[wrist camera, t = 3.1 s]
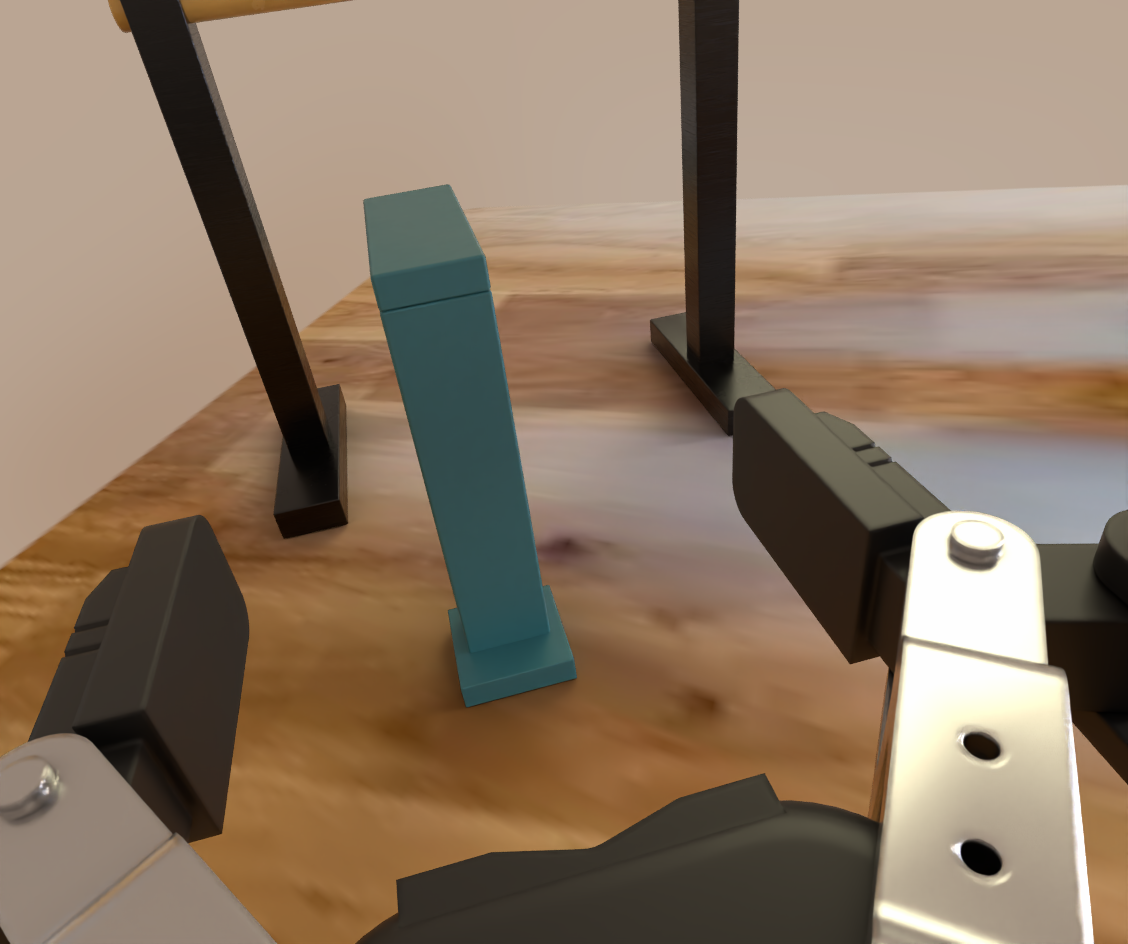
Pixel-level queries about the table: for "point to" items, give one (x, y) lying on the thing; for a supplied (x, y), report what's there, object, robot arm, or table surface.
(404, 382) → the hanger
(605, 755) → the table surface
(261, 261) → the rack
